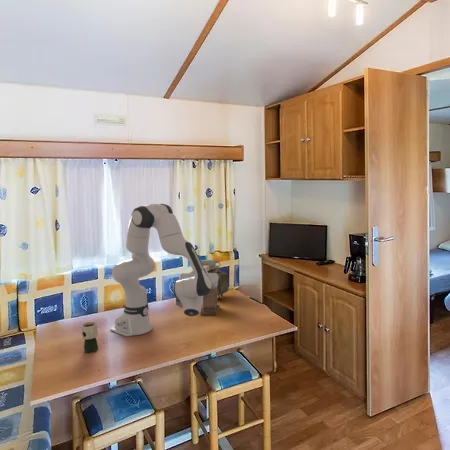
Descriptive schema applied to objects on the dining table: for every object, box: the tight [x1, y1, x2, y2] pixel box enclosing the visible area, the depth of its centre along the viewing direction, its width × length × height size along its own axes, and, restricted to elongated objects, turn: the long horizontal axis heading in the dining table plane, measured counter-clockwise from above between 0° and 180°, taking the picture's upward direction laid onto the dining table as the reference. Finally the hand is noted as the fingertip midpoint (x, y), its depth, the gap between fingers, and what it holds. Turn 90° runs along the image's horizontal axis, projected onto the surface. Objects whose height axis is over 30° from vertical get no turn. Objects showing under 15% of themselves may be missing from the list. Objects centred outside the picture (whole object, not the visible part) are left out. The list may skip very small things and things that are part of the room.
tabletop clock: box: [216, 261, 230, 300], centre depth 246 cm, size 14×9×25 cm, turn 128°
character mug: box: [80, 321, 99, 353], centre depth 178 cm, size 11×7×13 cm, turn 32°
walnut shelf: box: [200, 265, 220, 317], centre depth 222 cm, size 18×9×26 cm, turn 172°
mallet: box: [200, 259, 217, 271], centre depth 211 cm, size 27×8×5 cm, turn 172°
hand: (200, 269), depth 199 cm, fingers closed on mallet, 4 cm apart
